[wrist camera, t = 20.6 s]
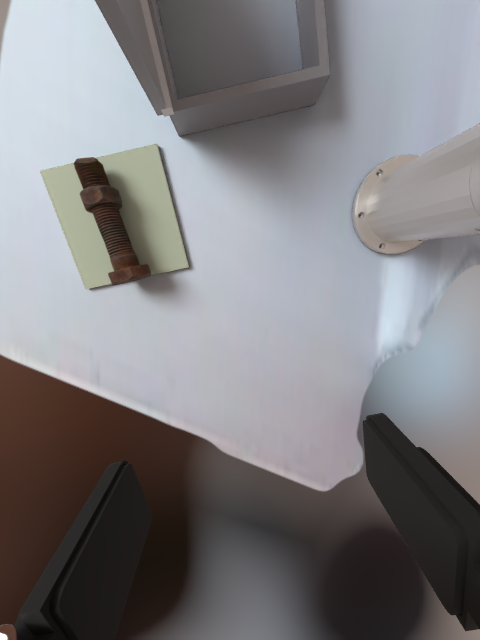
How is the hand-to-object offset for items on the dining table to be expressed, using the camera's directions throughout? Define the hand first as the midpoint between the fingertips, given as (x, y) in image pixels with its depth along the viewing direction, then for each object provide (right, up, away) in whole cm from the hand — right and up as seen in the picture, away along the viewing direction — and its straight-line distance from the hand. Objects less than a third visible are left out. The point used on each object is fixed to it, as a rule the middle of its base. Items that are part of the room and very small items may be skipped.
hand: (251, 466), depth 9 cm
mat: (-18, +20, +24) cm, 35 cm away
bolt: (-17, +19, +23) cm, 35 cm away
